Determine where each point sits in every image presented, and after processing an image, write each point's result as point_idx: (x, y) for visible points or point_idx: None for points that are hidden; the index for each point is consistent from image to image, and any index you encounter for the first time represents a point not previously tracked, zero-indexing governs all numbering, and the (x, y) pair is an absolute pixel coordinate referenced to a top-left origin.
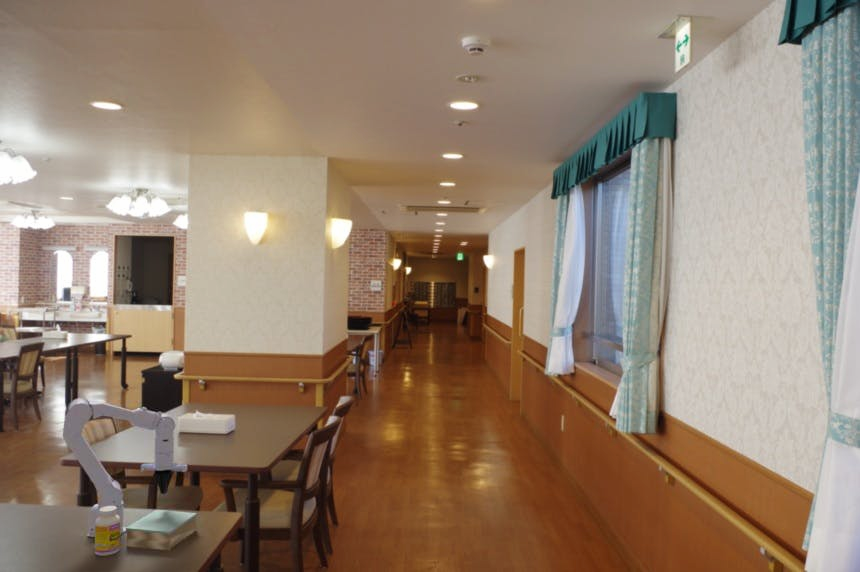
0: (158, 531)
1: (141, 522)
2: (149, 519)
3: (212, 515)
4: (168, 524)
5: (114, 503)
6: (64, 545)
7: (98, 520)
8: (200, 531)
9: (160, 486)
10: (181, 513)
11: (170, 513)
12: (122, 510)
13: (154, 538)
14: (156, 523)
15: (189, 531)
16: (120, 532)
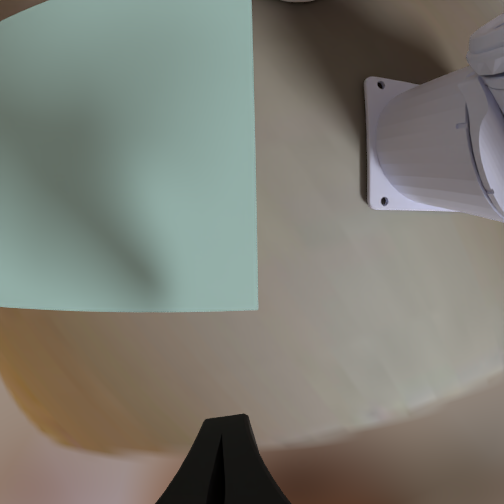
0: (32, 8)
1: (202, 54)
2: (177, 116)
3: (98, 427)
4: (15, 96)
5: (488, 30)
6: None
7: None
8: None
9: (240, 466)
10: (43, 285)
11: (102, 267)
12: (444, 152)
13: None
14: (85, 74)
15: None
16: (375, 138)
